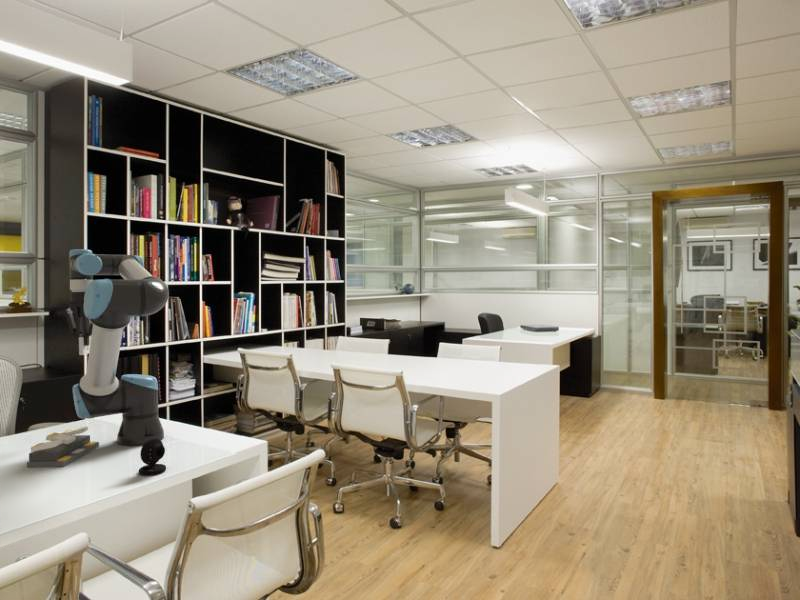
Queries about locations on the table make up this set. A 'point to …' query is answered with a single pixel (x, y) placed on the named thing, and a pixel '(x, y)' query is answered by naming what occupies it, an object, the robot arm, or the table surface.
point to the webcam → (152, 457)
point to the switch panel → (63, 463)
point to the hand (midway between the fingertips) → (83, 354)
